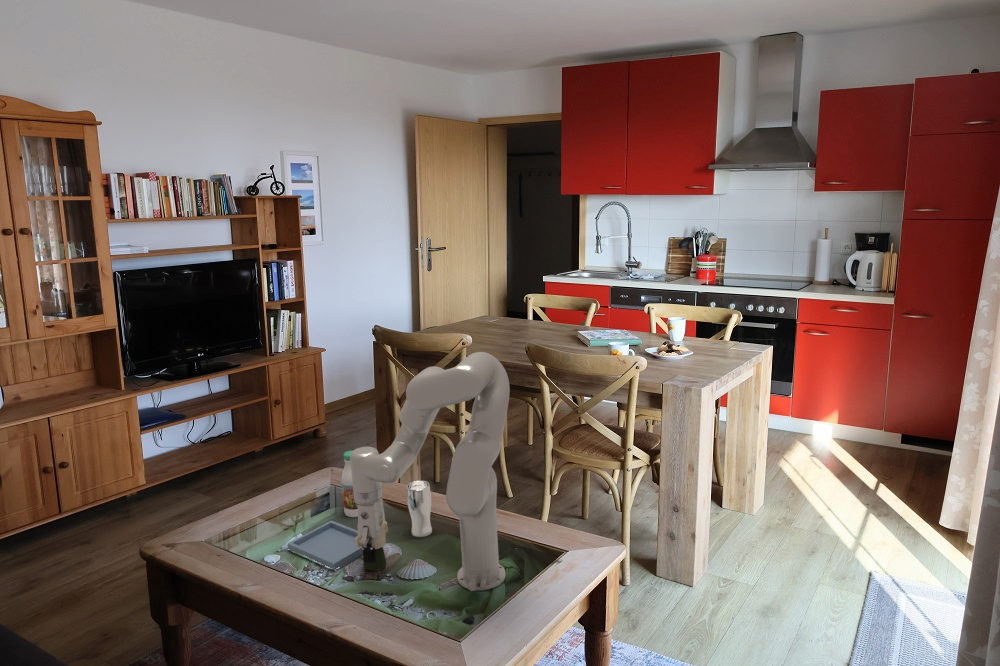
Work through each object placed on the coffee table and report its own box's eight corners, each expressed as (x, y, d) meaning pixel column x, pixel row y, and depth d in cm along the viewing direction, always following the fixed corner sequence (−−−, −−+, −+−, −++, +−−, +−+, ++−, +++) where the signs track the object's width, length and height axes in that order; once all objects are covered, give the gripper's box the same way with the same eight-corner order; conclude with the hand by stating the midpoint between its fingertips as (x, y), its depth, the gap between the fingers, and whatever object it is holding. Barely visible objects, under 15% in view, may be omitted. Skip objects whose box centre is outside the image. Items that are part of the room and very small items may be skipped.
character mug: (381, 554, 204) (377, 511, 201) (398, 561, 199) (394, 518, 196) (350, 571, 196) (345, 527, 193) (368, 580, 191) (363, 534, 188)
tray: (378, 545, 208) (377, 538, 208) (334, 571, 196) (333, 563, 195) (332, 527, 220) (331, 520, 220) (288, 551, 208) (287, 543, 207)
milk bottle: (343, 509, 232) (337, 450, 227) (367, 504, 234) (361, 446, 229) (345, 519, 225) (339, 459, 220) (370, 515, 227) (365, 455, 222)
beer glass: (432, 537, 211) (428, 490, 208) (408, 538, 212) (404, 490, 208) (434, 526, 218) (431, 479, 215) (411, 526, 218) (407, 480, 215)
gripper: (374, 508, 184) (380, 571, 188) (389, 479, 201) (394, 537, 205) (345, 509, 185) (351, 571, 189) (362, 479, 201) (368, 537, 206)
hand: (373, 553), depth 197 cm, fingers closed on character mug, 8 cm apart
